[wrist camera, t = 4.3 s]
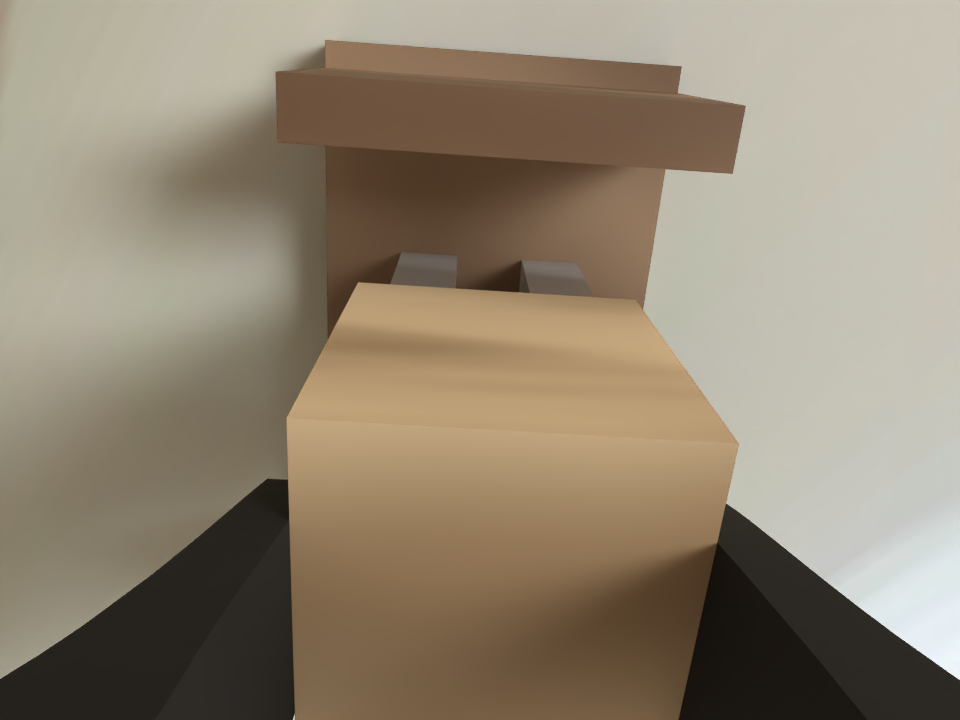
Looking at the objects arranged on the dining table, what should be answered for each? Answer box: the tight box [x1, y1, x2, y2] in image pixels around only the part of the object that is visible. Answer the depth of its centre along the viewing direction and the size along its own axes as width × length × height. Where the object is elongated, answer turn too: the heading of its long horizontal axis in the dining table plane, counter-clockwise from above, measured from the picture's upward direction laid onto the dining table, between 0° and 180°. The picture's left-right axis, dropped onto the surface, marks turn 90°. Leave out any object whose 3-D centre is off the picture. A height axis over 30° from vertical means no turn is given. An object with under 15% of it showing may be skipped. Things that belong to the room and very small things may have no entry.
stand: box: [276, 40, 746, 339], centre depth 15 cm, size 12×7×5 cm, turn 176°
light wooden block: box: [286, 282, 739, 720], centre depth 11 cm, size 4×4×5 cm
